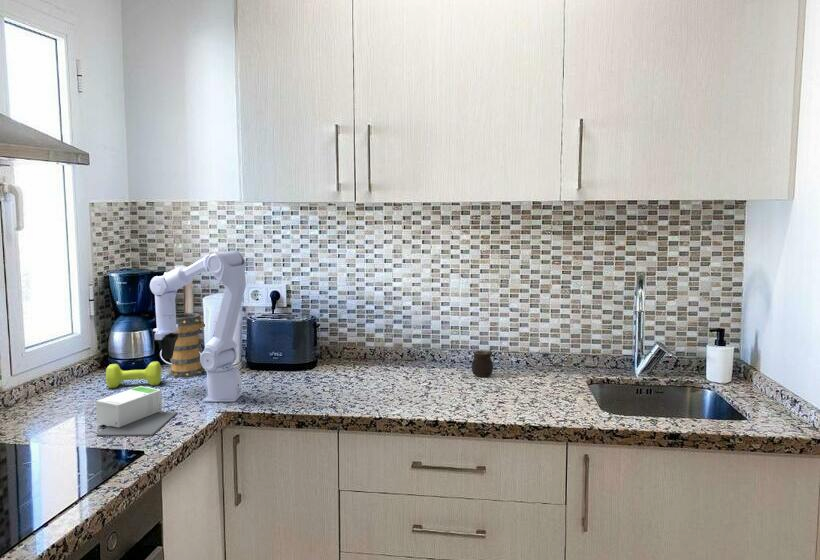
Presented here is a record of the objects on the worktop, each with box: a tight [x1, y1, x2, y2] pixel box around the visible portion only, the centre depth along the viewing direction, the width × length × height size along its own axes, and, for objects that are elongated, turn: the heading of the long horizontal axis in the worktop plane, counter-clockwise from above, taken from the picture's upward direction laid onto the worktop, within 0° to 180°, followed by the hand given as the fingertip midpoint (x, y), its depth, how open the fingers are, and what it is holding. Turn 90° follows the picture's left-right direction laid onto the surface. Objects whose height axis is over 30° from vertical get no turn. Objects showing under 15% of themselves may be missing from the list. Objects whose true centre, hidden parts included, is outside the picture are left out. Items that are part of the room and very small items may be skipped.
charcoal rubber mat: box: [96, 411, 178, 437], centre depth 183 cm, size 14×18×1 cm
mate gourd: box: [471, 347, 494, 378], centre depth 227 cm, size 7×8×10 cm
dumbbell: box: [105, 360, 163, 389], centre depth 221 cm, size 16×8×7 cm, turn 101°
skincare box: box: [95, 385, 163, 428], centre depth 186 cm, size 8×7×16 cm
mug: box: [167, 312, 205, 379], centre depth 234 cm, size 13×17×20 cm
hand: (168, 358), depth 212 cm, fingers closed
